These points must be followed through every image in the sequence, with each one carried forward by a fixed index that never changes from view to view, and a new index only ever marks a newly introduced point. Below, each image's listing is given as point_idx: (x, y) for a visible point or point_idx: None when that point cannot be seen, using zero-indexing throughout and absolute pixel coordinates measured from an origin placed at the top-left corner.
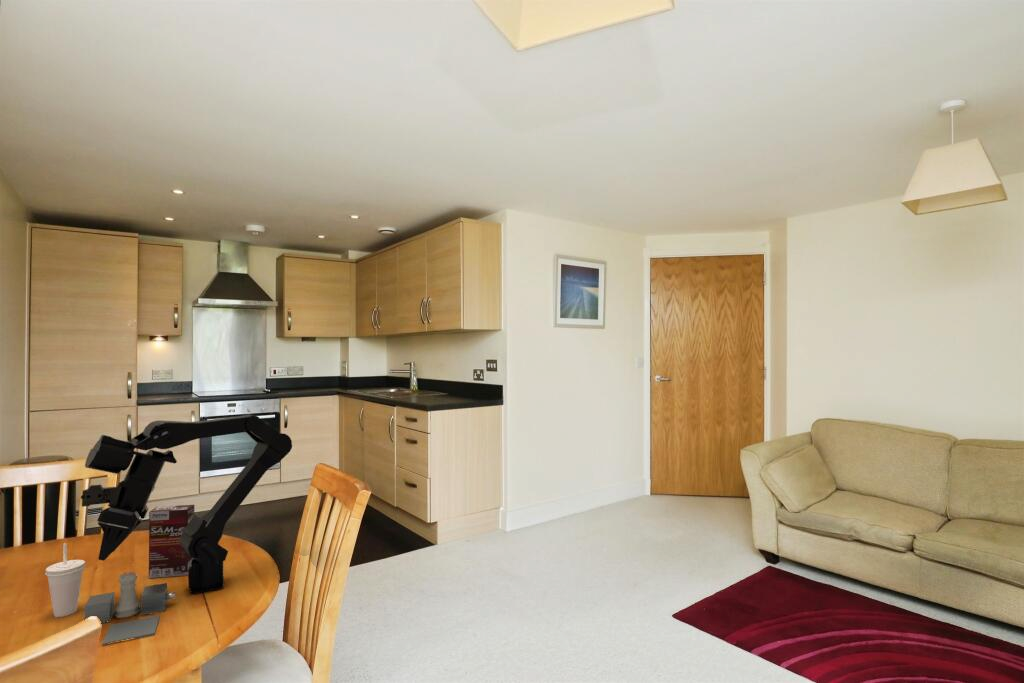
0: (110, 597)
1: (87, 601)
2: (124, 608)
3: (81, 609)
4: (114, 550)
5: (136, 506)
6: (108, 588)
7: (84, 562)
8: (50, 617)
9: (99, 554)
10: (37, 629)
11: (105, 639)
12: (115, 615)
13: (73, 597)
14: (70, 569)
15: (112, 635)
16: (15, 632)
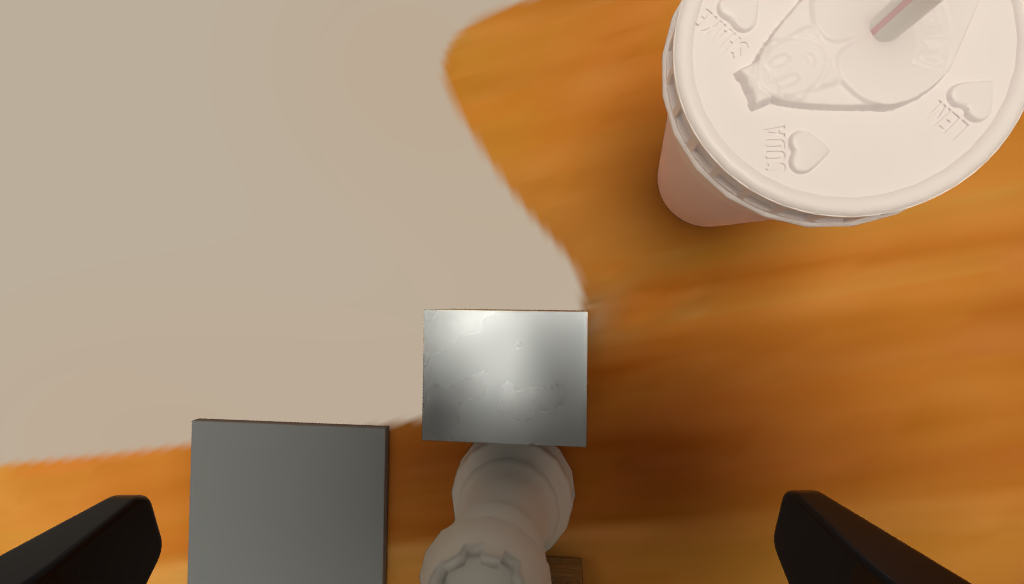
0: (491, 435)
1: (497, 311)
2: (454, 492)
3: (715, 246)
4: (787, 575)
5: None
6: (1019, 331)
7: (857, 214)
8: None
9: (38, 539)
10: (543, 103)
11: (227, 428)
12: None
13: (685, 203)
14: (694, 126)
15: (256, 450)
16: (559, 14)
